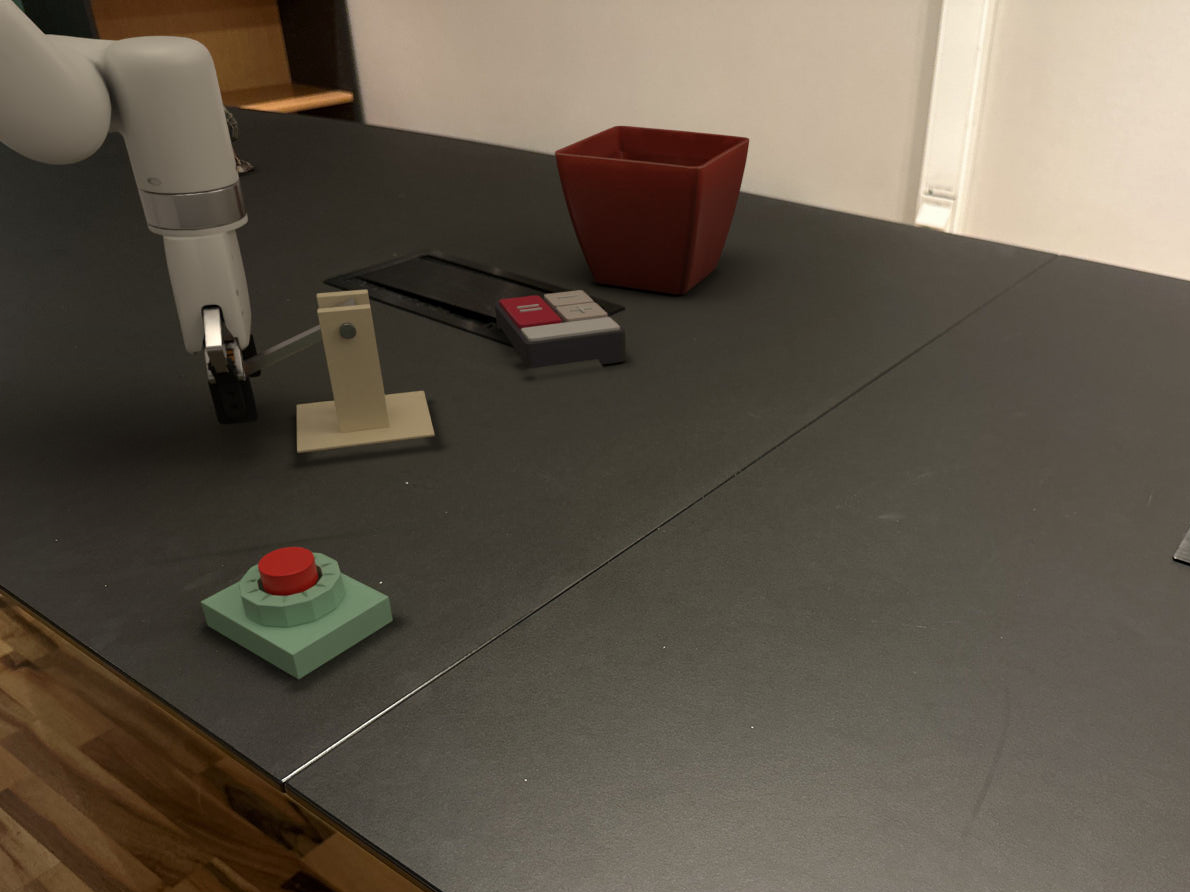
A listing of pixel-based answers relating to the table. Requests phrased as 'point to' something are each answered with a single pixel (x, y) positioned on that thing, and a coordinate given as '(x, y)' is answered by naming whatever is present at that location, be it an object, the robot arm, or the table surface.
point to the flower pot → (652, 203)
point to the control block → (298, 617)
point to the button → (288, 571)
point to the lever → (286, 347)
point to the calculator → (560, 329)
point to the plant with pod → (233, 134)
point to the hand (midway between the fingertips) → (241, 398)
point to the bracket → (356, 385)
